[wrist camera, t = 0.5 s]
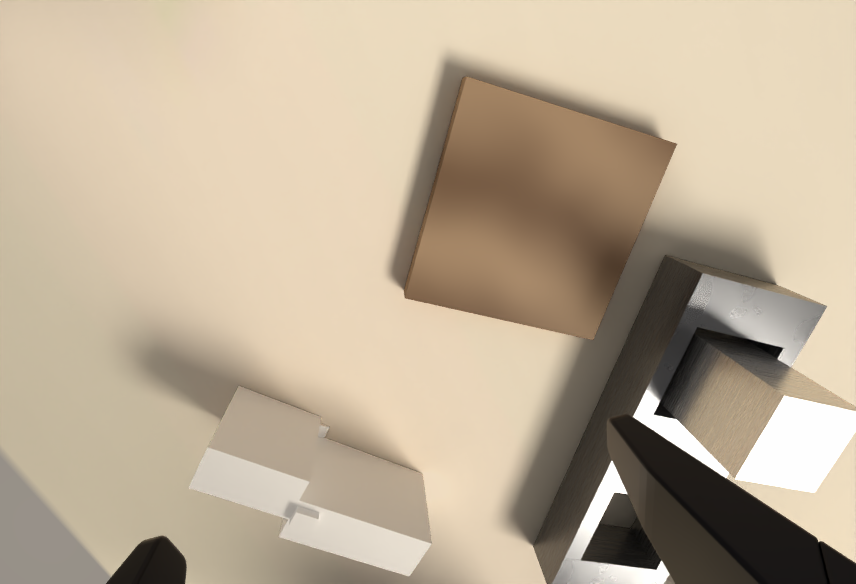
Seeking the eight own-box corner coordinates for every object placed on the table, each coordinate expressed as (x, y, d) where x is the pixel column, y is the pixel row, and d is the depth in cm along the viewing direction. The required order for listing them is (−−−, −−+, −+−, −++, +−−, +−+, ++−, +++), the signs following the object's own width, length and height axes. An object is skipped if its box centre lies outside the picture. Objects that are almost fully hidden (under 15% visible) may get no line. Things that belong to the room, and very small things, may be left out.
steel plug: (695, 390, 27) (814, 492, 20) (635, 377, 27) (734, 478, 19) (727, 328, 26) (867, 413, 19) (665, 313, 25) (784, 395, 18)
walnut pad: (584, 331, 25) (592, 340, 24) (403, 290, 23) (404, 298, 23) (664, 142, 22) (677, 143, 21) (462, 78, 20) (466, 76, 19)
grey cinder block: (629, 558, 32) (653, 601, 29) (533, 546, 30) (549, 590, 28) (777, 285, 26) (827, 306, 23) (665, 254, 24) (703, 273, 21)
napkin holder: (467, 488, 29) (487, 572, 24) (299, 557, 30) (282, 654, 24) (359, 277, 24) (354, 325, 18) (156, 366, 24) (94, 438, 19)
